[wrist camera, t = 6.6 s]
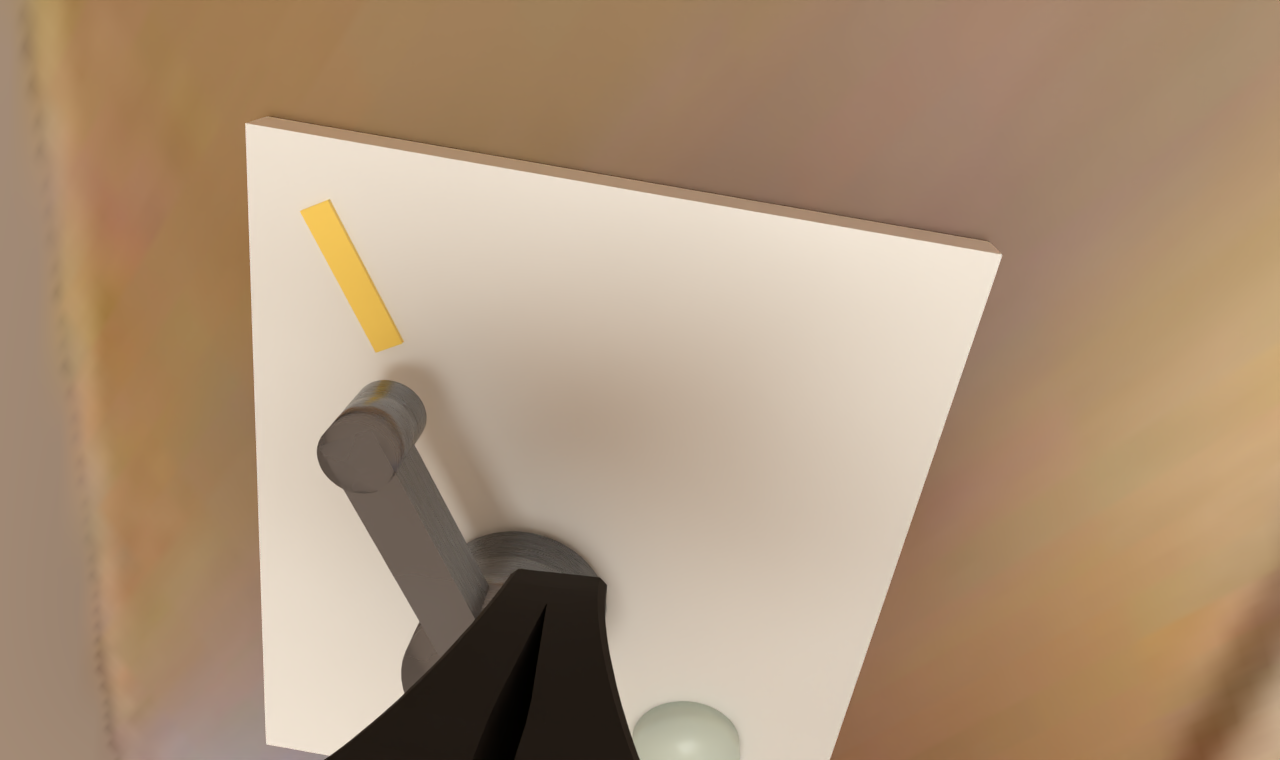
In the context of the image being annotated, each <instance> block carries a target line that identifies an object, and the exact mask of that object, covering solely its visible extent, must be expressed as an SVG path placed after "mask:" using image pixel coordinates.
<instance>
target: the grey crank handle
mask: <svg viewBox="0 0 1280 760" xmlns="http://www.w3.org/2000/svg"><path fill="white" fill-rule="evenodd" d="M426 421H427V415H426V410H425V407H424V404H423V402H422V401H421V399H420V398H419V396H418V395H417V394H416V393H415V392H414V391H413V390H412V389H410V388H409V387H407V386H406V385H404V384H402V383H399V382H396V381H391V380H378V381H374V382H372V383H369V384H368V385H366V386H365V387H363V388H362V389H361V390H360V392H359V393H358V394H357V395H356V396H355V397H354V399H353V400H352V401H351V402H350V403H349V404H348V406H347V407H346V408H345V409H344V410H343V411H342V413H341V414H340V415H339V416H338V417H337V418H336V420H335V421H334V422H333V423H332V424H331V426H330V427H329V428H328V429H327V430H326V431H325V433H324V434H323V435H322V436H321V438H320V440H319V442H318V446H317V458H318V462H319V465H320V467H321V469H322V471H323V472H324V474H325V475H326V476H327V477H328V478H329V479H330V480H331V481H332V482H333V483H334V484H336V485H337V486H339V487H340V488H342V489H343V490H344V491H345V493H346V495H347V497H348V498H349V500H350V502H351V504H352V505H353V507H354V509H355V511H356V512H357V514H358V516H359V517H360V519H361V521H362V523H363V524H364V526H365V528H366V530H367V531H368V533H369V535H370V537H371V538H372V540H373V542H374V544H375V545H376V547H377V549H378V550H379V552H380V554H381V556H382V557H383V559H384V561H385V563H386V564H387V566H388V568H389V570H390V571H391V573H392V575H393V577H394V578H395V580H396V582H397V583H398V585H399V587H400V589H401V590H402V592H403V594H404V596H405V597H406V599H407V601H408V603H409V604H410V606H411V608H412V610H413V611H414V613H415V615H416V616H417V618H418V620H419V623H418V625H417V627H416V630H415V632H414V634H413V636H412V638H411V640H410V643H409V645H408V647H407V649H406V651H405V654H404V657H403V660H402V667H401V681H402V686H403V690H404V693H405V692H406V691H407V690H408V689H409V688H410V687H411V686H412V685H414V684H415V683H416V682H417V681H418V680H419V679H420V678H421V677H422V676H423V675H424V674H425V673H426V672H427V671H428V670H429V669H430V668H431V667H432V666H433V665H434V664H435V663H436V662H437V661H438V660H439V659H440V658H441V657H442V656H443V655H444V653H445V652H446V651H447V650H448V649H449V648H450V647H451V646H452V645H453V644H454V642H455V641H456V640H457V639H458V638H459V637H460V636H461V635H462V634H463V633H464V632H465V630H466V629H467V628H468V627H469V626H470V625H471V624H472V622H473V621H474V620H475V619H476V618H477V617H478V615H479V614H480V613H481V612H482V611H483V609H484V608H485V607H486V606H487V605H488V603H489V602H490V601H491V600H492V598H493V597H494V596H495V595H496V593H497V592H498V591H499V589H500V588H501V587H502V585H503V584H504V583H505V581H506V580H507V579H508V577H509V576H510V574H512V573H513V572H514V571H516V570H517V569H527V570H536V571H545V572H555V573H564V574H574V575H583V576H592V577H598V576H597V575H596V573H595V572H594V570H593V569H592V568H591V566H590V565H589V564H588V563H587V562H586V561H585V560H584V559H583V558H582V557H581V556H580V555H578V554H577V553H576V552H575V551H573V550H572V549H570V548H569V547H567V546H566V545H564V544H562V543H560V542H558V541H556V540H553V539H551V538H548V537H545V536H542V535H538V534H534V533H528V532H520V531H507V532H497V533H492V534H488V535H485V536H482V537H479V538H476V539H474V540H472V541H470V542H468V543H466V541H465V539H464V537H463V536H462V534H461V532H460V530H459V528H458V526H457V524H456V522H455V520H454V518H453V517H452V515H451V513H450V511H449V509H448V507H447V505H446V503H445V501H444V500H443V498H442V496H441V494H440V492H439V490H438V488H437V486H436V484H435V483H434V481H433V479H432V477H431V475H430V473H429V471H428V469H427V467H426V465H425V464H424V462H423V460H422V458H421V456H420V454H419V452H418V450H417V448H416V447H415V443H416V442H417V440H418V439H419V437H420V436H421V434H422V433H423V431H424V429H425V426H426ZM606 612H607V606H606V610H605V620H606Z"/></svg>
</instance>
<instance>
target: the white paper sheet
mask: <svg viewBox="0 0 1280 760" xmlns="http://www.w3.org/2000/svg"><path fill="white" fill-rule="evenodd" d="M245 124H246V154H247V184H248V214H249V244H250V274H251V304H252V334H253V364H254V394H255V424H256V454H257V484H258V514H259V544H260V574H261V604H262V635H263V665H264V695H265V725H266V744H268V745H273V746H279V747H285V748H290V749H296V750H301V751H307V752H313V753H318V754H324V755H329V756H330V755H331V754H333V753H334V752H336V751H337V750H338V749H340V748H341V747H342V746H344V745H345V744H346V743H347V742H349V741H350V740H351V739H352V738H354V737H355V736H356V735H357V734H358V733H360V732H361V731H362V730H363V729H365V728H366V727H367V726H368V725H370V724H371V723H372V722H373V721H374V720H375V719H377V718H378V717H379V716H380V715H381V714H382V713H383V712H385V711H386V710H387V709H388V708H389V707H390V706H391V705H392V704H394V703H395V702H396V701H397V700H398V699H399V698H400V697H401V696H402V695H403V694H404V690H403V686H402V681H401V667H402V660H403V657H404V654H405V651H406V649H407V647H408V645H409V643H410V640H411V638H412V636H413V634H414V632H415V630H416V627H417V625H418V623H419V620H418V618H417V616H416V615H415V613H414V611H413V610H412V608H411V606H410V604H409V603H408V601H407V599H406V597H405V596H404V594H403V592H402V590H401V589H400V587H399V585H398V583H397V582H396V580H395V578H394V577H393V575H392V573H391V571H390V570H389V568H388V566H387V564H386V563H385V561H384V559H383V557H382V556H381V554H380V552H379V550H378V549H377V547H376V545H375V544H374V542H373V540H372V538H371V537H370V535H369V533H368V531H367V530H366V528H365V526H364V524H363V523H362V521H361V519H360V517H359V516H358V514H357V512H356V511H355V509H354V507H353V505H352V504H351V502H350V500H349V498H348V497H347V495H346V493H345V491H344V490H343V489H342V488H340V487H339V486H337V485H336V484H334V483H333V482H332V481H331V480H330V479H329V478H328V477H327V476H326V475H325V474H324V472H323V471H322V469H321V467H320V465H319V462H318V458H317V446H318V442H319V440H320V438H321V436H322V435H323V434H324V433H325V431H326V430H327V429H328V428H329V427H330V426H331V424H332V423H333V422H334V421H335V420H336V418H337V417H338V416H339V415H340V414H341V413H342V411H343V410H344V409H345V408H346V407H347V406H348V404H349V403H350V402H351V401H352V400H353V399H354V397H355V396H356V395H357V394H358V393H359V392H360V390H361V389H362V388H363V387H365V386H366V385H368V384H369V383H372V382H374V381H378V380H391V381H396V382H399V383H402V384H404V385H406V386H407V387H409V388H410V389H412V390H413V391H414V392H415V393H416V394H417V395H418V396H419V398H420V399H421V401H422V402H423V404H424V407H425V410H426V415H427V421H426V426H425V429H424V431H423V433H422V434H421V436H420V437H419V439H418V440H417V442H416V443H415V447H416V448H417V450H418V452H419V454H420V456H421V458H422V460H423V462H424V464H425V465H426V467H427V469H428V471H429V473H430V475H431V477H432V479H433V481H434V483H435V484H436V486H437V488H438V490H439V492H440V494H441V496H442V498H443V500H444V501H445V503H446V505H447V507H448V509H449V511H450V513H451V515H452V517H453V518H454V520H455V522H456V524H457V526H458V528H459V530H460V532H461V534H462V536H463V537H464V539H465V541H466V543H468V542H470V541H472V540H474V539H476V538H479V537H482V536H485V535H488V534H492V533H497V532H507V531H520V532H528V533H534V534H538V535H542V536H545V537H548V538H551V539H553V540H556V541H558V542H560V543H562V544H564V545H566V546H567V547H569V548H570V549H572V550H573V551H575V552H576V553H577V554H578V555H580V556H581V557H582V558H583V559H584V560H585V561H586V562H587V563H588V564H589V565H590V566H591V568H592V569H593V570H594V572H595V573H596V575H597V576H598V577H600V578H601V579H602V580H603V581H604V582H605V583H606V584H607V594H606V606H607V612H606V620H605V622H606V631H607V639H608V646H609V652H610V657H611V662H612V666H613V671H614V675H615V680H616V685H617V689H618V692H619V696H620V700H621V704H622V707H623V710H624V714H625V717H626V720H627V724H628V727H629V730H630V733H631V736H632V739H633V742H634V745H635V748H636V751H637V753H638V756H639V759H640V760H830V758H831V755H832V752H833V749H834V746H835V743H836V740H837V737H838V734H839V731H840V728H841V725H842V722H843V719H844V717H845V714H846V711H847V708H848V705H849V702H850V699H851V696H852V693H853V690H854V687H855V684H856V681H857V679H858V676H859V673H860V670H861V667H862V664H863V661H864V658H865V655H866V652H867V649H868V646H869V643H870V641H871V638H872V635H873V632H874V629H875V626H876V623H877V620H878V617H879V614H880V611H881V608H882V605H883V602H884V600H885V597H886V594H887V591H888V588H889V585H890V582H891V579H892V576H893V573H894V570H895V567H896V564H897V562H898V559H899V556H900V553H901V550H902V547H903V544H904V541H905V538H906V535H907V532H908V529H909V526H910V524H911V521H912V518H913V515H914V512H915V509H916V506H917V503H918V500H919V497H920V494H921V491H922V488H923V485H924V483H925V480H926V477H927V474H928V471H929V468H930V465H931V462H932V459H933V456H934V453H935V450H936V447H937V445H938V442H939V439H940V436H941V433H942V430H943V427H944V424H945V421H946V418H947V415H948V412H949V409H950V407H951V404H952V401H953V398H954V395H955V392H956V389H957V386H958V383H959V380H960V377H961V374H962V371H963V369H964V366H965V363H966V360H967V357H968V354H969V351H970V348H971V345H972V342H973V339H974V336H975V333H976V330H977V328H978V325H979V322H980V319H981V316H982V313H983V310H984V307H985V304H986V301H987V298H988V295H989V292H990V290H991V287H992V284H993V281H994V278H995V275H996V272H997V269H998V266H999V263H1000V260H1001V257H1002V254H1001V253H1000V252H999V251H998V250H997V249H996V248H995V247H994V246H993V245H992V244H991V243H990V242H989V241H983V240H978V239H972V238H966V237H960V236H955V235H949V234H943V233H937V232H932V231H926V230H920V229H914V228H908V227H903V226H897V225H891V224H885V223H880V222H874V221H868V220H862V219H857V218H851V217H845V216H839V215H834V214H828V213H822V212H816V211H811V210H805V209H799V208H793V207H788V206H782V205H776V204H770V203H764V202H759V201H753V200H747V199H741V198H736V197H730V196H724V195H718V194H713V193H707V192H701V191H695V190H690V189H684V188H678V187H672V186H667V185H661V184H655V183H649V182H644V181H638V180H632V179H626V178H621V177H615V176H609V175H603V174H597V173H592V172H586V171H580V170H574V169H569V168H563V167H557V166H551V165H546V164H540V163H534V162H528V161H523V160H517V159H511V158H505V157H500V156H494V155H488V154H482V153H477V152H471V151H465V150H459V149H453V148H448V147H442V146H436V145H430V144H425V143H419V142H413V141H407V140H402V139H396V138H390V137H384V136H379V135H373V134H367V133H361V132H356V131H350V130H344V129H338V128H333V127H327V126H321V125H315V124H310V123H304V122H298V121H292V120H286V119H281V118H275V117H269V116H266V117H263V118H260V119H257V120H254V121H251V122H248V123H245Z"/></svg>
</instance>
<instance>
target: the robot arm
mask: <svg viewBox="0 0 1280 760" xmlns="http://www.w3.org/2000/svg"><path fill="white" fill-rule="evenodd" d="M606 594H607V584H606V583H605V582H604V581H603V580H602V579H601V578H600V577H592V576H583V575H574V574H564V573H555V572H545V571H536V570H527V569H517V570H516V571H514V572H513V573H512V574H510V576H509V577H508V579H507V580H506V581H505V583H504V584H503V585H502V587H501V588H500V589H499V591H498V592H497V593H496V595H495V596H494V597H493V598H492V600H491V601H490V602H489V603H488V605H487V606H486V607H485V608H484V609H483V611H482V612H481V613H480V614H479V615H478V617H477V618H476V619H475V620H474V621H473V622H472V624H471V625H470V626H469V627H468V628H467V629H466V630H465V632H464V633H463V634H462V635H461V636H460V637H459V638H458V639H457V640H456V641H455V642H454V644H453V645H452V646H451V647H450V648H449V649H448V650H447V651H446V652H445V653H444V655H443V656H442V657H441V658H440V659H439V660H438V661H437V662H436V663H435V664H434V665H433V666H432V667H431V668H430V669H429V670H428V671H427V672H426V673H425V674H424V675H423V676H422V677H421V678H420V679H419V680H418V681H417V682H416V683H415V684H414V685H412V686H411V687H410V688H409V689H408V690H407V691H406V692H405V693H404V694H403V695H402V696H401V697H400V698H399V699H398V700H397V701H396V702H395V703H394V704H392V705H391V706H390V707H389V708H388V709H387V710H386V711H385V712H383V713H382V714H381V715H380V716H379V717H378V718H377V719H375V720H374V721H373V722H372V723H371V724H370V725H368V726H367V727H366V728H365V729H363V730H362V731H361V732H360V733H358V734H357V735H356V736H355V737H354V738H352V739H351V740H350V741H349V742H347V743H346V744H345V745H344V746H342V747H341V748H340V749H338V750H337V751H336V752H334V753H333V754H331V755H330V756H329V757H327V758H326V759H325V760H640V759H639V756H638V753H637V751H636V748H635V745H634V742H633V739H632V736H631V733H630V730H629V727H628V724H627V720H626V717H625V714H624V710H623V707H622V704H621V700H620V696H619V692H618V689H617V685H616V680H615V675H614V671H613V666H612V662H611V657H610V652H609V646H608V639H607V631H606V622H605V610H606Z"/></svg>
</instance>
